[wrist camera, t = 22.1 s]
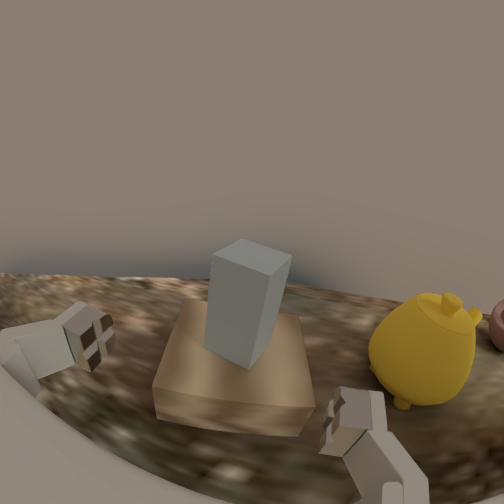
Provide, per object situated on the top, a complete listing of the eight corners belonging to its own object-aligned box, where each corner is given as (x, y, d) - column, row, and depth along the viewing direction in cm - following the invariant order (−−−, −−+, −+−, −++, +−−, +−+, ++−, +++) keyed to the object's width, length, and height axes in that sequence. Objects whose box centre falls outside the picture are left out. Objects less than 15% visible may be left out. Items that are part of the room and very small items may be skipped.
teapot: (425, 335, 42) (458, 268, 36) (476, 391, 28) (524, 320, 23) (338, 352, 36) (374, 265, 31) (394, 438, 23) (465, 349, 17)
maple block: (287, 349, 36) (298, 315, 34) (296, 438, 23) (316, 407, 21) (183, 334, 36) (185, 298, 33) (157, 420, 23) (151, 385, 20)
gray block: (270, 341, 28) (292, 255, 25) (248, 370, 24) (270, 275, 20) (229, 323, 30) (242, 238, 26) (203, 347, 26) (212, 254, 22)
